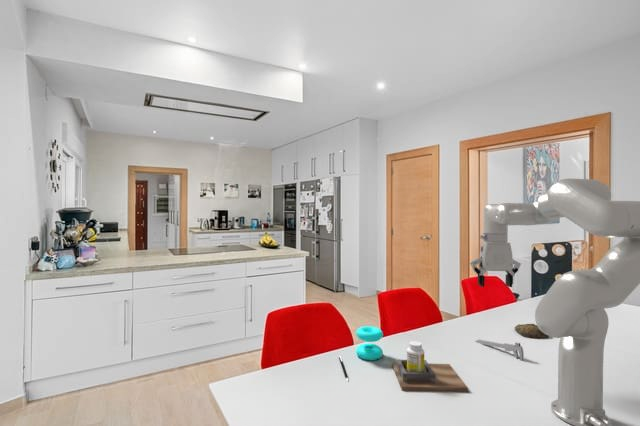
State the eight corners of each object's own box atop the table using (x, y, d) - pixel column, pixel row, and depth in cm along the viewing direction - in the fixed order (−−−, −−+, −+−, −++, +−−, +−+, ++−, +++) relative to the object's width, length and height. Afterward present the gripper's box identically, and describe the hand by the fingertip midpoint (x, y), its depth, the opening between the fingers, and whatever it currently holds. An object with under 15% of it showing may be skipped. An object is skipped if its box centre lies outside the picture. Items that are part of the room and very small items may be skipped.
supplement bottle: (420, 369, 114) (420, 339, 114) (427, 377, 108) (427, 346, 108) (404, 370, 113) (404, 340, 113) (410, 378, 108) (410, 346, 108)
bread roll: (520, 338, 147) (520, 326, 147) (511, 328, 159) (511, 318, 159) (553, 341, 144) (554, 329, 144) (542, 331, 156) (542, 320, 156)
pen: (340, 357, 127) (340, 354, 127) (349, 383, 108) (349, 379, 108) (338, 357, 127) (338, 354, 127) (346, 383, 108) (346, 379, 108)
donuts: (388, 332, 125) (364, 335, 121) (387, 359, 125) (364, 363, 121) (374, 323, 134) (351, 326, 131) (374, 348, 134) (351, 352, 131)
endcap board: (467, 391, 102) (467, 379, 102) (401, 390, 103) (402, 378, 103) (449, 367, 118) (449, 356, 118) (392, 366, 119) (392, 355, 119)
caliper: (523, 361, 125) (523, 344, 125) (521, 361, 124) (521, 344, 124) (476, 341, 143) (476, 326, 143) (474, 342, 142) (475, 327, 142)
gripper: (475, 239, 117) (475, 288, 117) (526, 239, 116) (525, 288, 116) (466, 237, 124) (466, 283, 124) (514, 237, 124) (513, 284, 124)
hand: (495, 286), depth 120 cm, fingers open, 9 cm apart
